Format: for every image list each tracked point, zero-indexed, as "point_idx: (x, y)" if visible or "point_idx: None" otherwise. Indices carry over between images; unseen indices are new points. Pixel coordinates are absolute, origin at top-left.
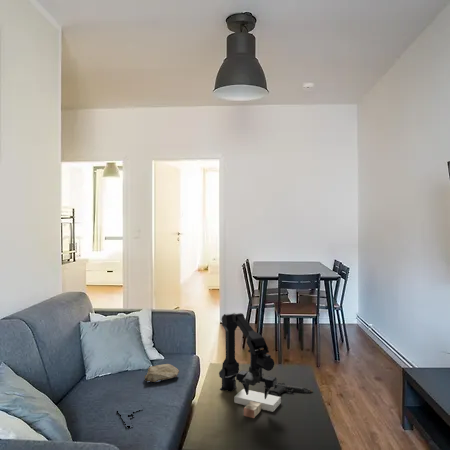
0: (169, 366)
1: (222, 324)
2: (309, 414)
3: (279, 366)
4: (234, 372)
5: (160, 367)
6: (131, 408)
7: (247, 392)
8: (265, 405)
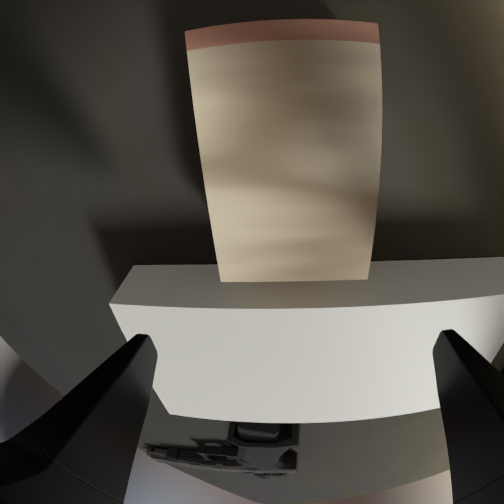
0: None
1: None
2: (12, 316)
3: (336, 497)
4: None
5: None
6: None
7: (451, 362)
8: (193, 294)
